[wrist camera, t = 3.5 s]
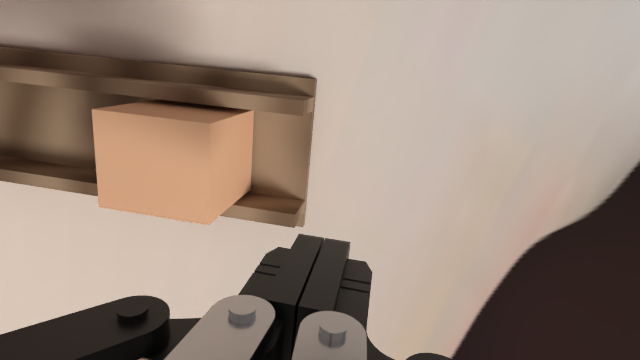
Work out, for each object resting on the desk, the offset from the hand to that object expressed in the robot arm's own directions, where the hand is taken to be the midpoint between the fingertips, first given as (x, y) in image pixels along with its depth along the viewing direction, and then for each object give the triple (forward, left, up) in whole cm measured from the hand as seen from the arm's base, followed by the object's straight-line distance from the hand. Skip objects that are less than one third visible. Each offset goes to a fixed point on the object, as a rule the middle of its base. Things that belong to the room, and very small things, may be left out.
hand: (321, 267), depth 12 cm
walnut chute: (+16, 0, -13) cm, 21 cm away
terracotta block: (+10, 0, -13) cm, 16 cm away
